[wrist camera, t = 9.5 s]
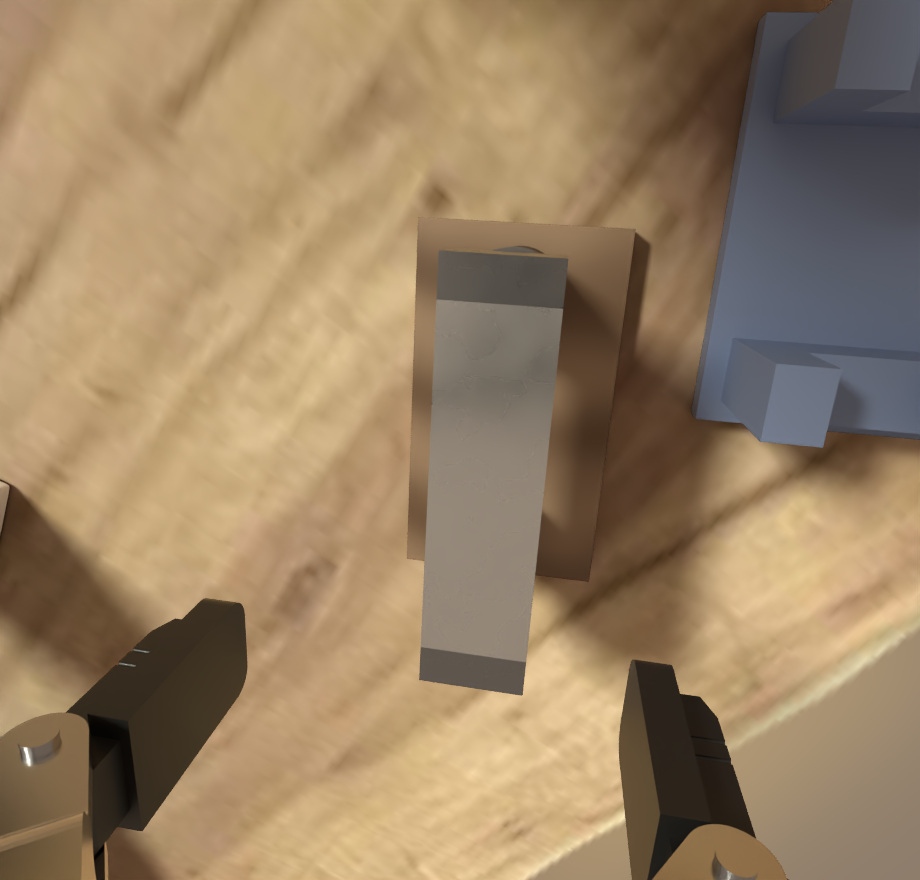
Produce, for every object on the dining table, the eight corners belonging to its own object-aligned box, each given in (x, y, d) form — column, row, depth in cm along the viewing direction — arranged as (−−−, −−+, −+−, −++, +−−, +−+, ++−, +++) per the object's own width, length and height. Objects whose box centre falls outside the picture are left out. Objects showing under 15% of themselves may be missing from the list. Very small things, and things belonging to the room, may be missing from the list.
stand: (423, 217, 31) (378, 211, 24) (632, 229, 30) (655, 226, 22) (411, 548, 37) (372, 629, 29) (587, 570, 35) (594, 660, 28)
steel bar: (458, 248, 24) (438, 250, 20) (567, 255, 23) (568, 258, 19) (438, 621, 29) (419, 679, 25) (528, 634, 28) (522, 695, 24)
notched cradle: (758, 21, 27) (830, -59, 20) (1077, 25, 25) (1284, -61, 18) (690, 412, 32) (728, 463, 25) (951, 436, 30) (1072, 498, 23)
